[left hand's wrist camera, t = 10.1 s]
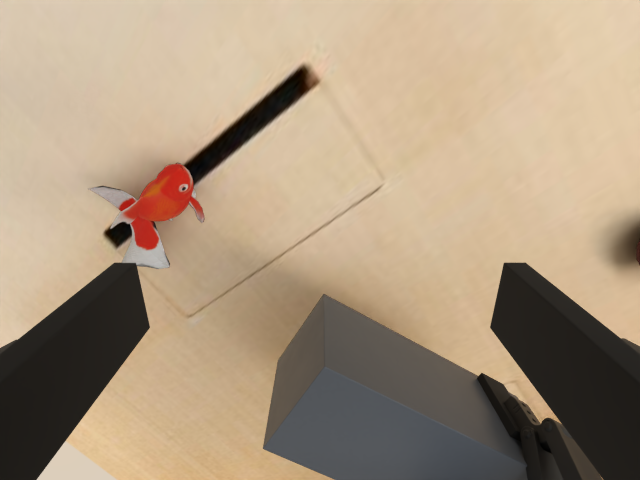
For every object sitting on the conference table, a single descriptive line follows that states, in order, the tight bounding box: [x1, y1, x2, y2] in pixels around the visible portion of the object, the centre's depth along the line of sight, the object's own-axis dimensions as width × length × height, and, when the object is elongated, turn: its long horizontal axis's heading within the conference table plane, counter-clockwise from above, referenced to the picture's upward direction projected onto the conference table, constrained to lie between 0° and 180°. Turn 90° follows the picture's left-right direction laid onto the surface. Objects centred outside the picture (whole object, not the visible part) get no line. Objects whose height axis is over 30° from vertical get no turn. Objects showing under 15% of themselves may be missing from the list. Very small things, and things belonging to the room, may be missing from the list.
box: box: [263, 294, 528, 480], centre depth 31 cm, size 23×9×10 cm, turn 59°
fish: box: [89, 163, 204, 269], centre depth 39 cm, size 11×16×10 cm
